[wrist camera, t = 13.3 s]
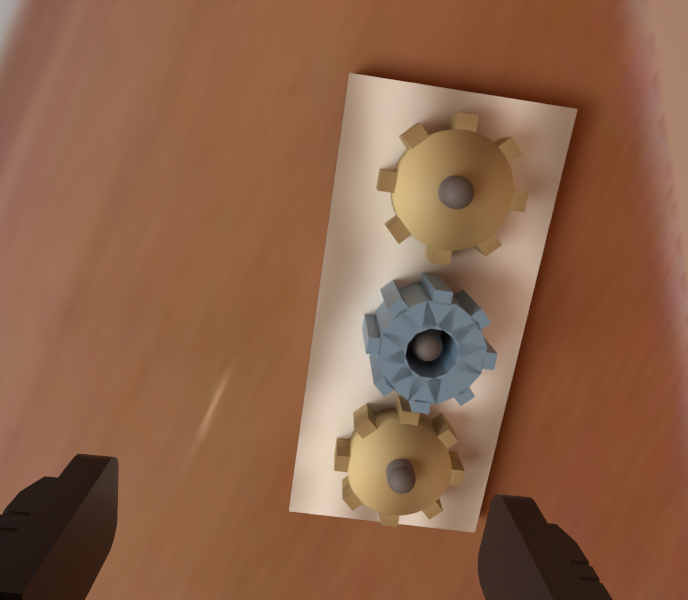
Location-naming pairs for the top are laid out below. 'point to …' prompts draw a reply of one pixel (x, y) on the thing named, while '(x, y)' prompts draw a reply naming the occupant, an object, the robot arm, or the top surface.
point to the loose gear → (419, 315)
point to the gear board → (406, 268)
